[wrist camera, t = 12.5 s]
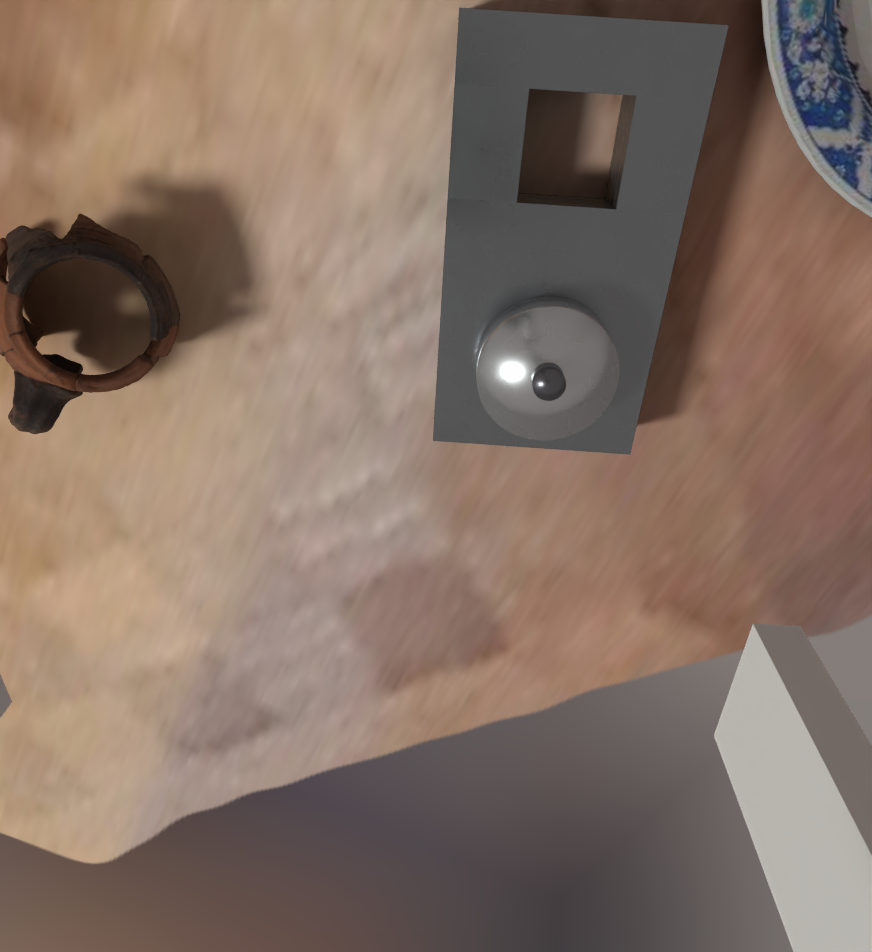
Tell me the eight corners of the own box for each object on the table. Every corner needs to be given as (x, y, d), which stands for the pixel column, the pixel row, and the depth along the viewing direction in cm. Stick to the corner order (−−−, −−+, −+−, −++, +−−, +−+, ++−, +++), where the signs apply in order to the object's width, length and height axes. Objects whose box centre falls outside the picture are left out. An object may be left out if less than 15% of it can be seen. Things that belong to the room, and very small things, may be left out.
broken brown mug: (-1, 174, 35) (-5, 188, 29) (184, 242, 41) (214, 267, 34) (-47, 389, 38) (-61, 445, 32) (130, 425, 44) (149, 480, 37)
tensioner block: (460, 13, 31) (458, 1, 25) (706, 28, 30) (755, 20, 25) (435, 417, 41) (430, 467, 36) (619, 430, 41) (641, 482, 35)
